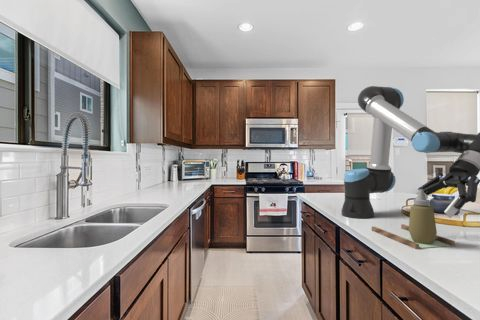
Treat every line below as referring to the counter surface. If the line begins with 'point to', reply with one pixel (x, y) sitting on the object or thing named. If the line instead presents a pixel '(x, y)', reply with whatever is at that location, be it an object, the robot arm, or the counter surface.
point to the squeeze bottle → (422, 220)
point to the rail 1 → (396, 237)
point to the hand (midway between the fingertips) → (429, 210)
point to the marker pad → (434, 244)
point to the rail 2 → (438, 238)
